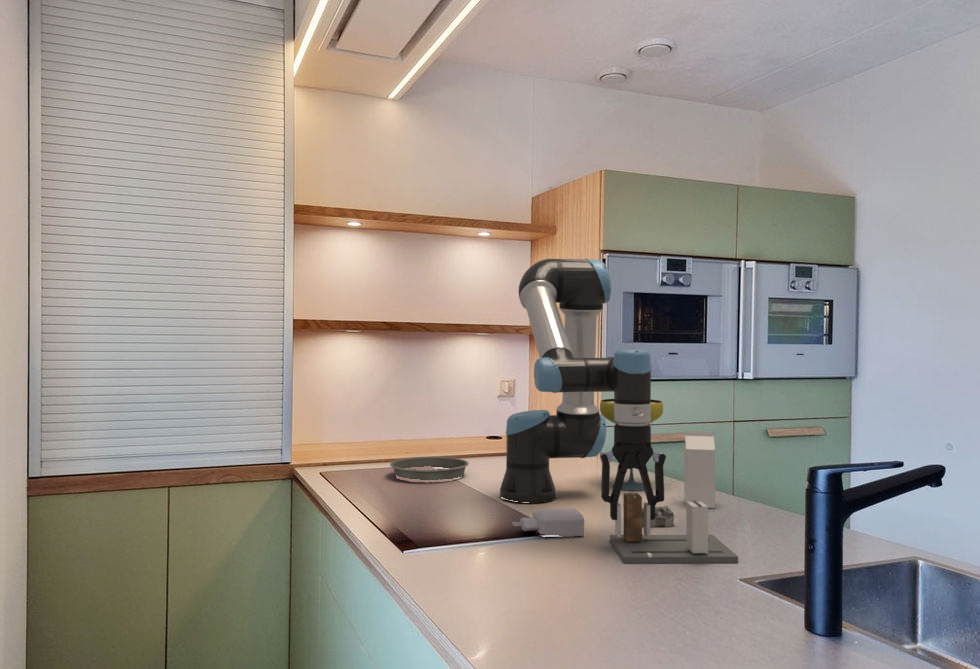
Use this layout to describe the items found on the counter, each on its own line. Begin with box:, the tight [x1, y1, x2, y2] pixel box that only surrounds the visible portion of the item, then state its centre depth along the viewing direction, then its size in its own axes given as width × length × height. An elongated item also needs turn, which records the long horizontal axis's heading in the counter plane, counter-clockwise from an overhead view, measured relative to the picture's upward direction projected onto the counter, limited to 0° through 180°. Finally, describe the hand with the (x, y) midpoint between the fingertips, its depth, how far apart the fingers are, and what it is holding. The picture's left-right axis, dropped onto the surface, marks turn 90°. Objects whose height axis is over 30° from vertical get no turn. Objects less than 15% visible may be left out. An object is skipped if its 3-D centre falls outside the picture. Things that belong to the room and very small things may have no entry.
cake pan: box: [389, 456, 469, 480], centre depth 219 cm, size 25×25×4 cm
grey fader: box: [685, 500, 709, 553], centre depth 137 cm, size 3×4×9 cm
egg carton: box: [642, 505, 676, 528], centre depth 163 cm, size 11×8×4 cm
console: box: [609, 534, 739, 564], centre depth 141 cm, size 22×15×2 cm
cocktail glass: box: [599, 398, 664, 492], centre depth 202 cm, size 18×18×25 cm
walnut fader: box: [622, 491, 643, 541], centre depth 145 cm, size 3×4×9 cm
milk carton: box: [683, 430, 716, 509], centre depth 180 cm, size 7×7×19 cm
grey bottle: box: [511, 507, 585, 538], centre depth 155 cm, size 5×9×15 cm
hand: (632, 535), depth 145 cm, fingers open, 5 cm apart
